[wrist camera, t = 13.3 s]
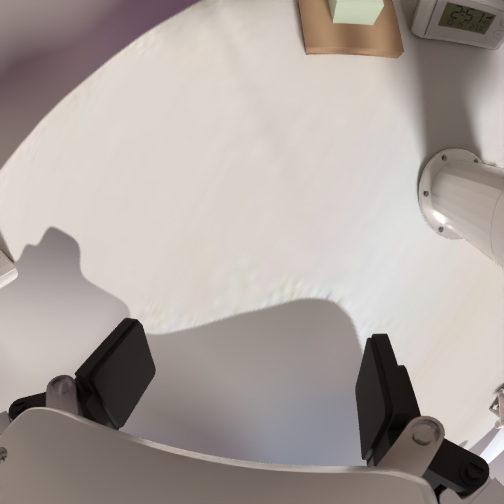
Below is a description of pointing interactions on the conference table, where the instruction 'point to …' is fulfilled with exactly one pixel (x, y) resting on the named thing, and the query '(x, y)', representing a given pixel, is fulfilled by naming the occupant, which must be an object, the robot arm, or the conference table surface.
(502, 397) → the portable electronic device stand
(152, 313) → the conference table surface
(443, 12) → the digital clock
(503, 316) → the conference table surface
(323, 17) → the wooden square slab
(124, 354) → the robot arm
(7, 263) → the photo printer
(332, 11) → the sage block
